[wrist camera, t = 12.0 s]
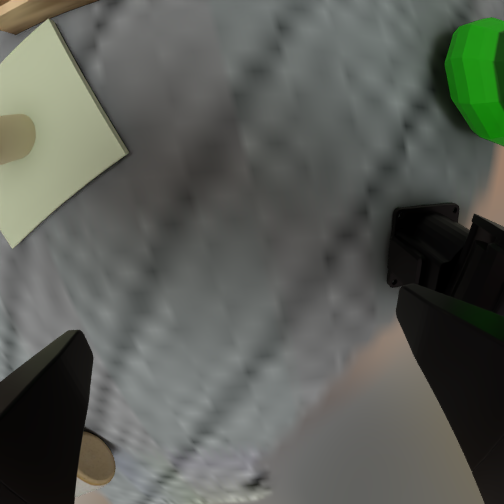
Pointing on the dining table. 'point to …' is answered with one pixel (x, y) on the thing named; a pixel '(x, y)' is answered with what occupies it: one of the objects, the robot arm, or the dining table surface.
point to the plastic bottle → (478, 76)
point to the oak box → (33, 12)
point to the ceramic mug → (93, 465)
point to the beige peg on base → (47, 132)
